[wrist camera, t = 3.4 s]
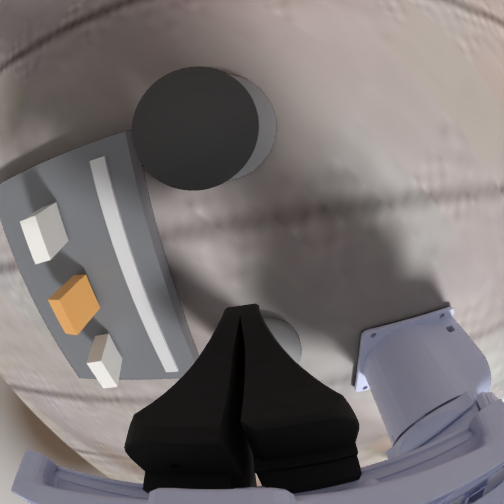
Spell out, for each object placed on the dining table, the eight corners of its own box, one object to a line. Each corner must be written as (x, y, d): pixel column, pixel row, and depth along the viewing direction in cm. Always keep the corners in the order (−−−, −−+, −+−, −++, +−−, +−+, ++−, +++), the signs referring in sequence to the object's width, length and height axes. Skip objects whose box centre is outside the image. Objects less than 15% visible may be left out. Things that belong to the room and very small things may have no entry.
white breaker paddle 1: (56, 202, 15) (35, 215, 12) (68, 240, 16) (50, 259, 13) (41, 207, 14) (19, 221, 12) (54, 245, 16) (35, 264, 13)
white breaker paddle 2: (108, 333, 19) (101, 361, 16) (122, 358, 20) (117, 386, 17) (95, 335, 19) (86, 363, 16) (109, 360, 20) (103, 388, 17)
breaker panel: (134, 130, 15) (123, 131, 13) (202, 363, 22) (200, 378, 21) (4, 183, 15) (-10, 188, 14) (84, 367, 23) (78, 379, 21)
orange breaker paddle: (85, 274, 17) (59, 300, 14) (100, 307, 18) (77, 335, 15) (74, 275, 17) (47, 299, 14) (88, 307, 18) (65, 333, 15)
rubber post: (265, 69, 14) (300, -1, 5) (281, 169, 16) (333, 228, 7) (160, 89, 14) (67, 56, 5) (179, 187, 17) (113, 264, 7)
